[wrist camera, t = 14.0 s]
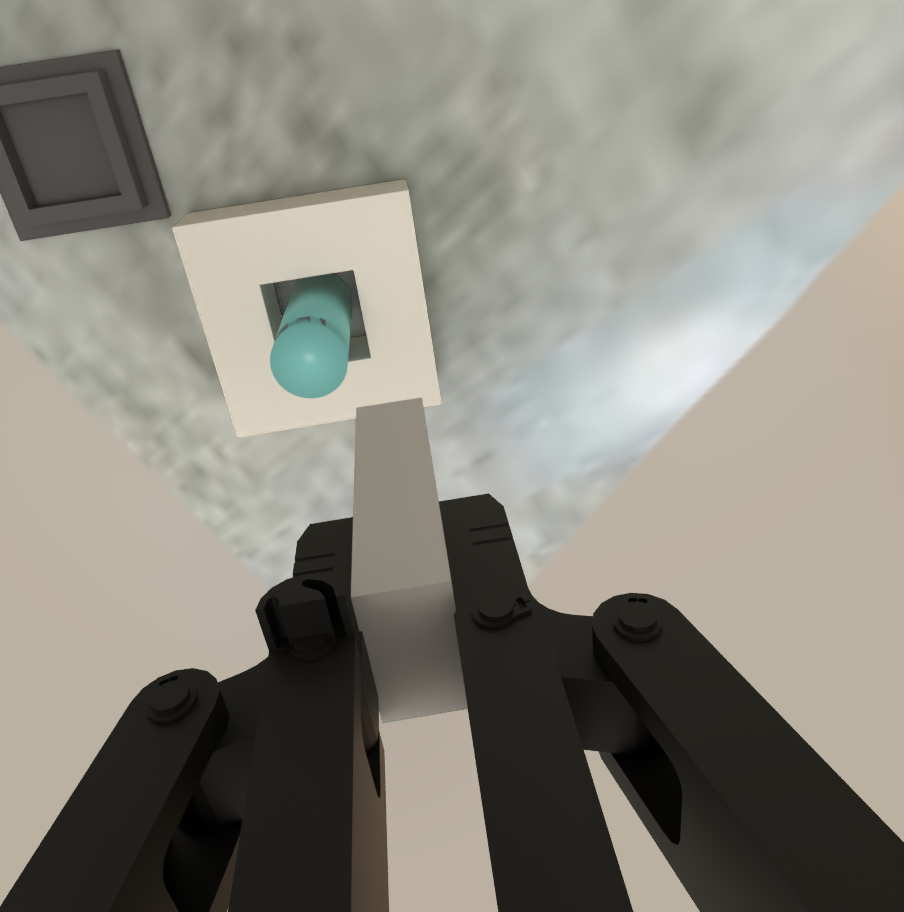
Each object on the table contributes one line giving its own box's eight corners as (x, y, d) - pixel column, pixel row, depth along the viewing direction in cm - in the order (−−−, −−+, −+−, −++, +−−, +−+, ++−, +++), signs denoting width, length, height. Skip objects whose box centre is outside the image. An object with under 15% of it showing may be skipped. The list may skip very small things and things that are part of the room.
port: (188, 213, 40) (171, 227, 36) (405, 179, 40) (408, 190, 37) (247, 409, 46) (237, 437, 42) (436, 378, 46) (441, 404, 42)
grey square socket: (-43, 74, 36) (-62, 75, 34) (119, 50, 36) (107, 49, 34) (25, 238, 40) (10, 245, 38) (170, 215, 40) (162, 222, 38)
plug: (283, 276, 42) (260, 333, 33) (345, 267, 42) (338, 320, 33) (298, 335, 44) (280, 403, 35) (357, 326, 44) (354, 391, 35)
